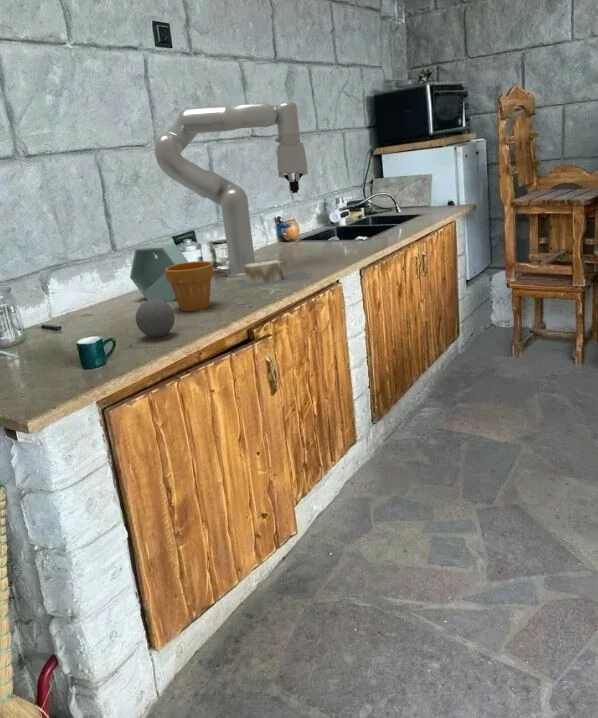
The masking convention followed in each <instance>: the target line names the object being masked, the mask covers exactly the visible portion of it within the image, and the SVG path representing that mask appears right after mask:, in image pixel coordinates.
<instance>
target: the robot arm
mask: <svg viewBox="0 0 598 718" xmlns="http://www.w3.org/2000/svg"><path fill="white" fill-rule="evenodd" d="M299 124H300V123H299V113H298V105H297V103H295V102H293V101H292V102H291V101H288V102H280V103H277V104H270V103H267V102H266V103H263V102H262V103H253V104H252V103H251V104H237V105H236V104H235V105H231V104H226V105H225V104H224V105H211V106H197V107H196V106H194V107H193V106H192V107H185V108H184V109H182V110H181V111H180V112H179V114H178V118H177V119H176V120H175V122H174V123H173V124H172V125H171V127H170V128H168V130H167V131H166V132H164V133H162V134H160V135H159V136H158V137H157V139H156V141H155V144H154V153H155V158H156V159H155V160H156V162H157V164H158V166H159V167H160V169H161V170H162V172H163V173H164V174H165V175H166V176H167V177H169V178H170V179H172V180H174V181H175V182H177V183H179V184H181V185H182V186H183V187H185V188H187V189H188V190H190V191H192V192H194V193H195V194H196V195H198V196H200V197H202V198H204V199H208V200H210V201H211V202H213V203H215V204H218V205H219V206H220V208H221V213H222V220H223V226H224V233H225V234H224V235H225V242H226V248H227V255H228V262H227V264H225V265H219V266H217V267H216V268H217V272H218V273H219V272H226V276H227V277H234V278H235V277H244V276H245V277H246V275H245V267H244V265H245V264H252V263H256V260H255V252H254V250H255V249H254V245H253V244H254V242H253V235H252V233H253V232H252V227H251V220H250V219H251V217H250V210H249V199H248V196H247V194H246V192H245V190H244V189H243V188H242V187H241V186H240V185H238V184H235V183H234V182H232V181H230V180H229V179H227V178H225V177H223V176H221V175H219V174H218V173H217V172H215V171H213V170H208V169H207V170H206V169H204V168H202V167H200V166H199V165H198V164H195V163H194V162H192V161H190V160H188V159H187V158H185V157H184V156H183V155H182V154H181V153H182V152H183V151H184V150H185V149H186V148H187V146H188V145H189V144H191V142H192V141H193V140H194V139H195V138H196V136H197V135H198V134H203V133H204V134H205V133H219V132H231V131H235V130H239V129H249V128H270V127H273V126H277V135H278V136H277V137H275V138H274V142H275V143H276V142H277V143H278V144H277V147H276V152H277V153H276V156H277V157H276V158H277V159H276V160H277V163H276V165H277V171H278V175H277V176H278V178H282V179H285V180H286V181H288V183H289V191H290V192H291V193H292V194H298V192H299V191H300V187H299V186H300V185H299V181H300V179H301V178H302V177H303V176H306V175H308V174H309V172H308V163H307V155H306V151H305V150H306V149H305V146H304V143H303V142H301V135H300V125H299ZM292 174H294V179H293V175H292Z"/></svg>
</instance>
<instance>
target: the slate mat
mask: <svg viewBox="0 0 598 718" xmlns="http://www.w3.org/2000/svg"><path fill="white" fill-rule="evenodd" d="M282 274H283V273H282ZM311 279H312V277H310V275H308V274H307V273H306V272H305V271H298V272H291V273H284V274H283V280H280V281H272V282H265V283H258V284H251V285H248V283H247V282H246V279H240V280H236V283H237V284H238V286H239V288H240V289H247V288H254V287H261V286H268V285H274V284H283V283H289V282H298V281H305V280H311Z"/></svg>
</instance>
